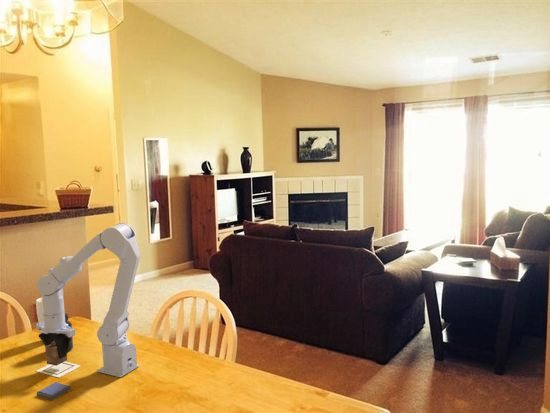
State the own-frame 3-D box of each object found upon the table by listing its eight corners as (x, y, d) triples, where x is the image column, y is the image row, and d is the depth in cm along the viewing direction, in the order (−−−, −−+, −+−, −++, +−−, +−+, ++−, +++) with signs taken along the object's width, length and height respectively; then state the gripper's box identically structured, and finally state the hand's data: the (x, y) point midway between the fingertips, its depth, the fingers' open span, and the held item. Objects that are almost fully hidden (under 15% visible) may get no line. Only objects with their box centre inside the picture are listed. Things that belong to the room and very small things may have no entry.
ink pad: (70, 389, 128) (70, 385, 128) (52, 400, 123) (51, 396, 123) (55, 385, 131) (55, 381, 131) (36, 395, 125) (36, 391, 125)
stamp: (67, 359, 141) (65, 340, 141) (56, 365, 138) (54, 345, 137) (57, 358, 143) (55, 338, 142) (46, 363, 139) (44, 343, 138)
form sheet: (81, 366, 142) (81, 365, 142) (59, 377, 135) (59, 377, 135) (58, 360, 147) (58, 359, 147) (35, 371, 140) (35, 370, 140)
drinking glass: (64, 338, 164) (61, 297, 162) (46, 345, 158) (43, 303, 156) (53, 335, 167) (50, 294, 166) (35, 341, 162) (31, 300, 160)
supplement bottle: (67, 354, 151) (64, 319, 150) (47, 354, 151) (44, 319, 150) (77, 345, 158) (74, 311, 156) (57, 345, 158) (54, 311, 156)
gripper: (25, 313, 138) (29, 356, 140) (59, 320, 132) (63, 365, 134) (46, 306, 145) (49, 347, 146) (79, 312, 138) (82, 355, 140)
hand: (57, 355), depth 140 cm, fingers closed on stamp, 4 cm apart
